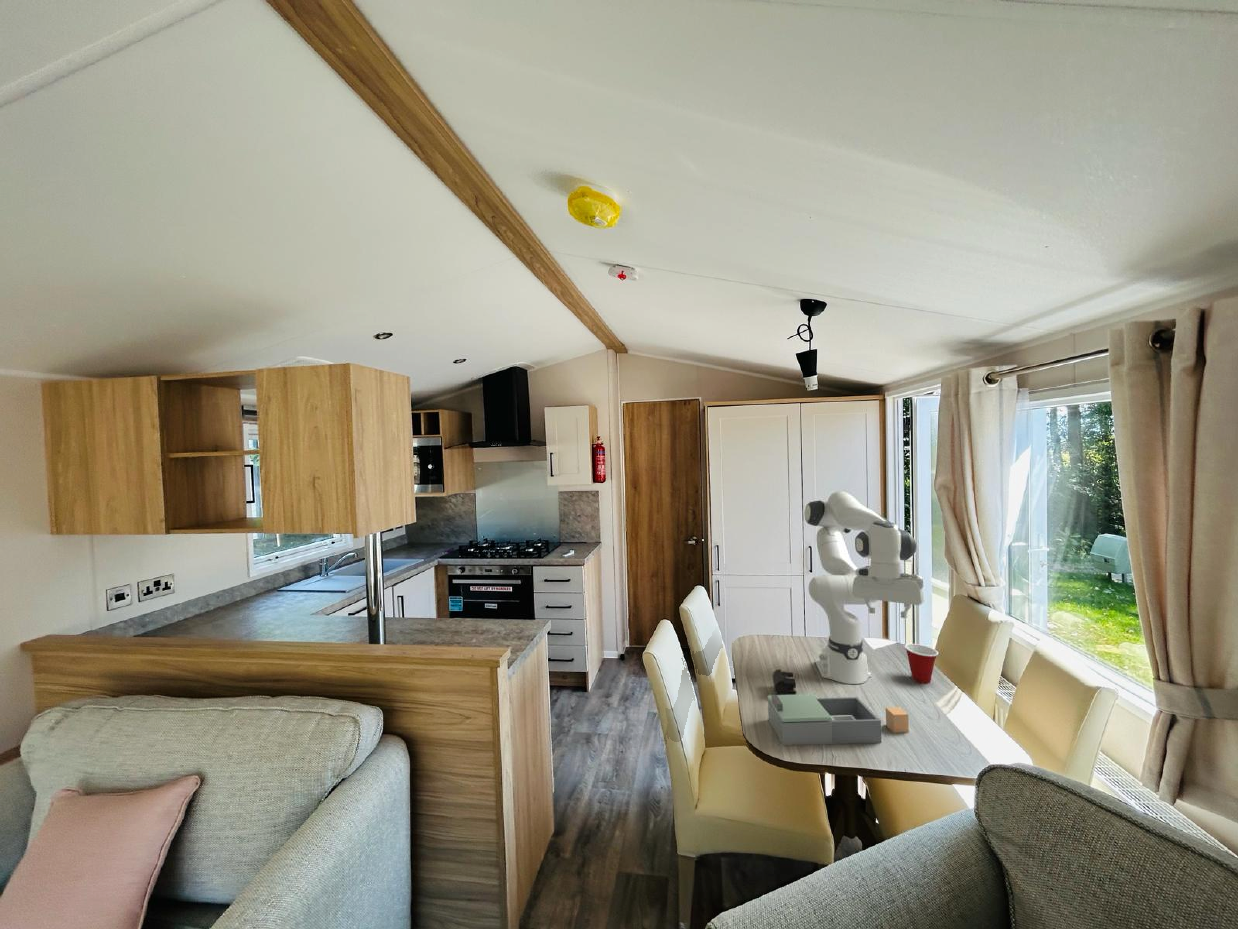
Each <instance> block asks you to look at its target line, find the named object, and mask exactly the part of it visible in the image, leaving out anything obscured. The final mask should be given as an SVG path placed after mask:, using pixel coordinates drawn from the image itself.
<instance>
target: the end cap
mask: <svg viewBox="0 0 1238 929" xmlns="http://www.w3.org/2000/svg"><path fill="white" fill-rule="evenodd" d="M772 681H773V685H774V686H773V687H774V691H775V694H776V695H797V691H796V690H794V689H795V688H797V686H796V683H797V682H796V679H795V678H794V673H793V672H792V671H791V672H789V671H782V669H781V668H780V669H779V668H778V669H776V670H775V671H774V672H773V673H772Z"/></svg>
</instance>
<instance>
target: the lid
mask: <svg viewBox="0 0 1238 929" xmlns="http://www.w3.org/2000/svg"><path fill="white" fill-rule="evenodd" d="M768 700H769V701H770V703H771V704H772V706H773V708H774V709H775V711H776V713H777V714H778V716H779V718H780V719H781V721H782V722H802V721H831V716H830V715H829V714H828V712H827V711H826V710H825V709H824V708H823V706H822V705H821V704H820V703H819V701H818V700H817V699H816V696H814V694H813V693H807V694H806V693H805V694H799V693H798V694H796V695H777V694H770V695H767V701H768Z"/></svg>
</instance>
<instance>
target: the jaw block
mask: <svg viewBox="0 0 1238 929" xmlns="http://www.w3.org/2000/svg"><path fill="white" fill-rule="evenodd" d="M885 725H886V726H887V727H888V728H889V729H890V730H891V731H892V732H893V733H909V713H907V712H906V711H905V710H904V709H903V708H902V707H900V706H891V707H889V706H887V707H885Z"/></svg>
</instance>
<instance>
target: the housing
mask: <svg viewBox="0 0 1238 929" xmlns="http://www.w3.org/2000/svg"><path fill="white" fill-rule="evenodd" d="M815 698H816V697H815ZM816 699H817V700H818V701H819V703H820V704H821V705H822V706H823V708H824V709H825V710H826V711H827V712H828V714H829V715H830V716H831V721H802V722H782V721H781V719H780V718H779V716H778V714H777V713H776V711H775V709H774V708H773V706H772V704H771V703H770V701H769V700H768V699H767V713H768V715H767V717H768V719H767V720H768V722H769V723H770V724H771V727H772V728H773V730H774V733H775V734H776V736H777V737H778V739H779V741H780V743H781V744H782V746H798V745H802V746H803V745H833V744H835V745H836V744H837V745H840V744H867V743H868V744H870V743H871V744H873V743H874V744H875V743H882V720H881V719H880V718H879V717H878V716H877V715H876V714H875V713H874V712H873V711H872V709H870V708H869V707H868V706H867V705H866V704H865V703H864V702H863V701H862V700H861V699H860V698H859V697H858V696H846V697H842V696H841V697H819V698H818V697H817V698H816Z"/></svg>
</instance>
